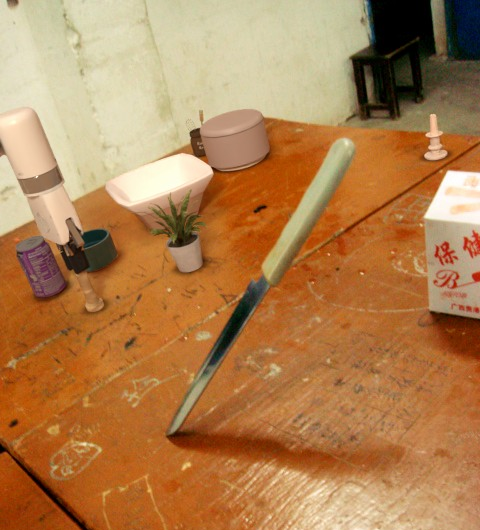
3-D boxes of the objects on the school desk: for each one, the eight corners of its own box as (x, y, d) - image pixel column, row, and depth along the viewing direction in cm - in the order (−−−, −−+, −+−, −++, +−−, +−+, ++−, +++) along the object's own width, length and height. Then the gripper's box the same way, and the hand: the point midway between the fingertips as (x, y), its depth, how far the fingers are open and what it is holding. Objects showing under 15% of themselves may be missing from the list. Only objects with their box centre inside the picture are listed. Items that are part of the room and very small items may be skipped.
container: (284, 148, 180) (275, 107, 173) (244, 175, 170) (233, 132, 164) (236, 146, 191) (227, 107, 185) (196, 171, 181) (185, 131, 175)
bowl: (139, 251, 145) (123, 209, 140) (113, 220, 165) (98, 182, 160) (232, 213, 151) (220, 171, 145) (195, 187, 171) (184, 149, 165)
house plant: (158, 295, 126) (131, 221, 118) (148, 266, 138) (123, 197, 129) (226, 271, 128) (204, 196, 119) (210, 245, 139) (189, 175, 131)
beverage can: (44, 284, 143) (22, 236, 137) (72, 280, 141) (51, 232, 135) (30, 301, 137) (6, 253, 131) (59, 298, 135) (36, 249, 129)
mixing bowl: (89, 278, 140) (79, 254, 137) (67, 267, 147) (57, 245, 144) (126, 256, 145) (118, 233, 142) (104, 247, 152) (95, 225, 149)
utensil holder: (190, 155, 194) (178, 117, 188) (205, 147, 197) (194, 109, 191) (202, 157, 190) (191, 118, 184) (217, 149, 193) (207, 110, 187)
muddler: (92, 314, 126) (64, 249, 118) (83, 309, 129) (55, 246, 121) (107, 305, 128) (80, 240, 120) (98, 300, 130) (72, 237, 123)
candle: (437, 149, 153) (434, 106, 148) (452, 154, 149) (449, 110, 143) (419, 157, 152) (416, 114, 146) (433, 162, 148) (430, 118, 142)
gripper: (4, 183, 118) (44, 269, 127) (42, 195, 106) (82, 288, 116) (40, 166, 121) (76, 251, 131) (80, 177, 110) (116, 268, 120)
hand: (79, 268), depth 123 cm, fingers closed on muddler, 2 cm apart
